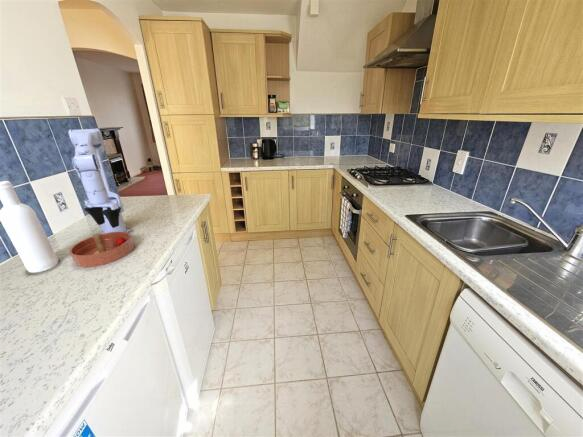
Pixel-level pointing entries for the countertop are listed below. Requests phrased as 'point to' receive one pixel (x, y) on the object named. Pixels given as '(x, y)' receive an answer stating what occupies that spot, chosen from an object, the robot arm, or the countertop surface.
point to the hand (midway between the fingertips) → (108, 225)
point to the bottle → (25, 231)
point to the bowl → (86, 249)
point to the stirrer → (100, 244)
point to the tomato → (120, 241)
